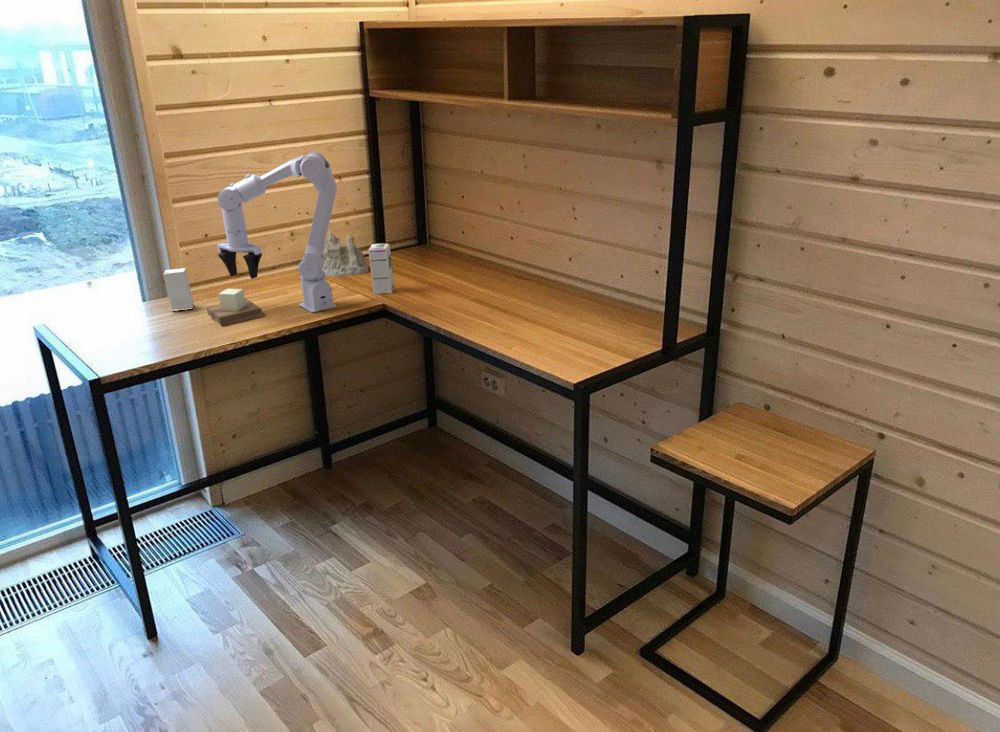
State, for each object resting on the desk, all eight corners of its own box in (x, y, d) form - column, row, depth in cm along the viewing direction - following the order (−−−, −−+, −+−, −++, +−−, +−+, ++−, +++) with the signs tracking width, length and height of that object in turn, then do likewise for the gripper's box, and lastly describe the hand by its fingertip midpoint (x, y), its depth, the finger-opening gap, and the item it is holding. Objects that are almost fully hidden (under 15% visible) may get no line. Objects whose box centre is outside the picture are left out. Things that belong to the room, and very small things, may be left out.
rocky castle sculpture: (367, 274, 265) (361, 229, 260) (318, 279, 265) (310, 234, 260) (371, 264, 280) (365, 222, 275) (325, 269, 279) (318, 226, 274)
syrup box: (392, 293, 245) (387, 247, 239) (372, 294, 245) (368, 248, 240) (394, 288, 250) (390, 242, 245) (375, 288, 251) (371, 243, 245)
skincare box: (194, 305, 241) (186, 267, 237) (193, 310, 237) (185, 271, 233) (173, 308, 240) (164, 269, 235) (171, 312, 236) (162, 273, 231)
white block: (246, 305, 232) (243, 289, 230) (237, 311, 227) (234, 294, 225) (230, 304, 233) (227, 288, 231) (221, 310, 228) (218, 293, 227)
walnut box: (262, 318, 230) (261, 308, 229) (221, 327, 224) (219, 317, 223) (248, 308, 239) (246, 298, 238) (208, 317, 233) (206, 307, 232)
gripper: (265, 228, 227) (272, 274, 232) (226, 225, 232) (234, 270, 238) (248, 234, 221) (256, 281, 226) (208, 231, 227) (217, 277, 232)
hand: (243, 276), depth 232 cm, fingers open, 7 cm apart
